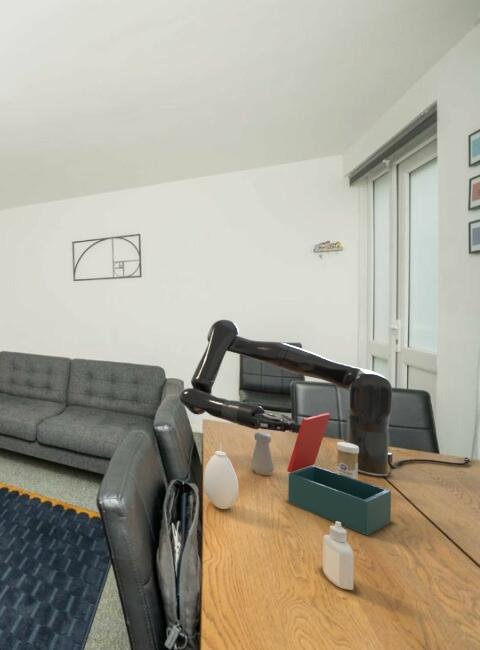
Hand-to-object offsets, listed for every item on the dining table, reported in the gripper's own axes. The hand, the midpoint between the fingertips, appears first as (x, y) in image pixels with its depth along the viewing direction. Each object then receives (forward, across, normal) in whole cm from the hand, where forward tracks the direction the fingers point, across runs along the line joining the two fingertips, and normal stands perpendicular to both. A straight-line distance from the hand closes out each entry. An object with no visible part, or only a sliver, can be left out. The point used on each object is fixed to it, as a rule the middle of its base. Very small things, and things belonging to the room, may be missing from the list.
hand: (309, 431), depth 101 cm
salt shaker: (-15, +7, +20) cm, 26 cm away
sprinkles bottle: (+1, +19, +20) cm, 28 cm away
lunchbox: (+6, 0, +20) cm, 21 cm away
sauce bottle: (-8, -26, +20) cm, 34 cm away
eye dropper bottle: (+18, -31, +20) cm, 41 cm away
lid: (0, 0, +3) cm, 3 cm away
